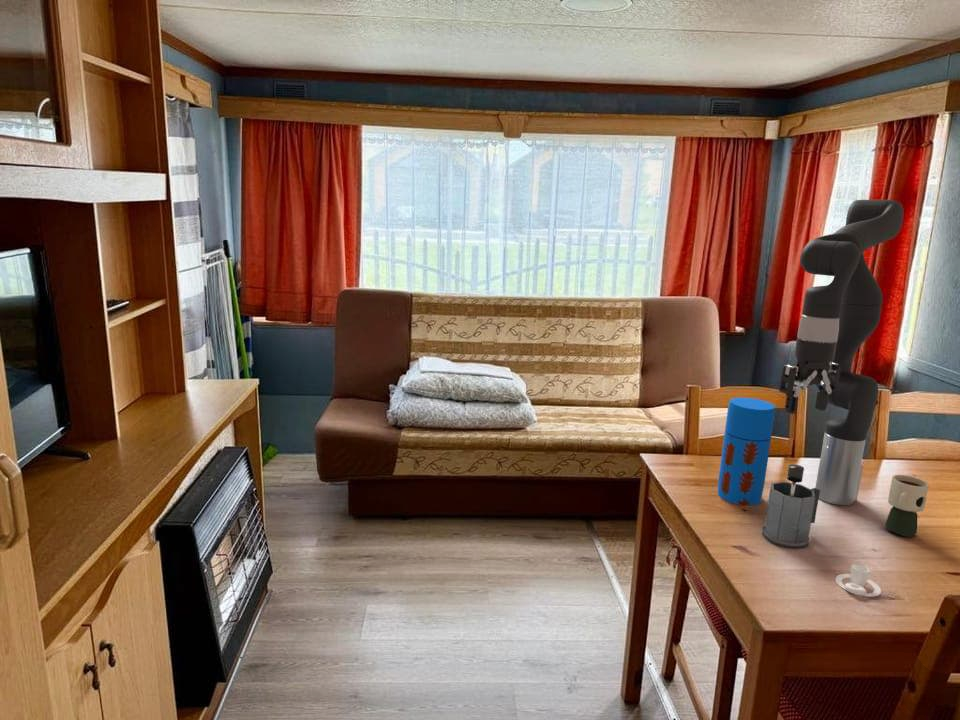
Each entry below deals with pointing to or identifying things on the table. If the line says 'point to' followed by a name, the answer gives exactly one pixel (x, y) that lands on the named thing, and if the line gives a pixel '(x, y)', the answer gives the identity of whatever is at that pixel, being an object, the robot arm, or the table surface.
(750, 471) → the thermos
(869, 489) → the table surface
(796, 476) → the plunger
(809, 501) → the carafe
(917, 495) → the character mug
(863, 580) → the teacup and saucer
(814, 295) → the robot arm
